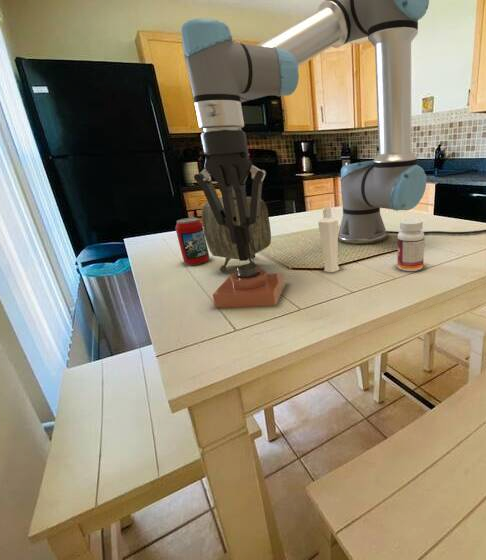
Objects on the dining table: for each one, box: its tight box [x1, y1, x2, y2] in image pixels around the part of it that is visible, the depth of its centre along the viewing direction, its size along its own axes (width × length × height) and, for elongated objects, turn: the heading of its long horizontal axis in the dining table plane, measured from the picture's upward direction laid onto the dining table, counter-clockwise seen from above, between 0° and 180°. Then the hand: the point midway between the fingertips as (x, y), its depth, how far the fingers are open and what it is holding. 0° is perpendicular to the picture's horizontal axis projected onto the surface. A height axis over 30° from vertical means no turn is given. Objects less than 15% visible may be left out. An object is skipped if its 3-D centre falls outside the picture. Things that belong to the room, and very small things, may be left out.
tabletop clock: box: [201, 185, 272, 273], centre depth 84 cm, size 14×9×25 cm, turn 151°
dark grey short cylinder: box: [236, 263, 259, 278], centre depth 69 cm, size 4×4×2 cm
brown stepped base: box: [212, 267, 286, 309], centre depth 70 cm, size 12×10×5 cm
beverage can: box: [175, 217, 210, 266], centre depth 93 cm, size 7×7×12 cm
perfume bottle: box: [317, 207, 340, 273], centre depth 80 cm, size 5×4×15 cm
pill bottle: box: [397, 218, 425, 272], centre depth 79 cm, size 6×6×11 cm
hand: (245, 258), depth 67 cm, fingers closed
